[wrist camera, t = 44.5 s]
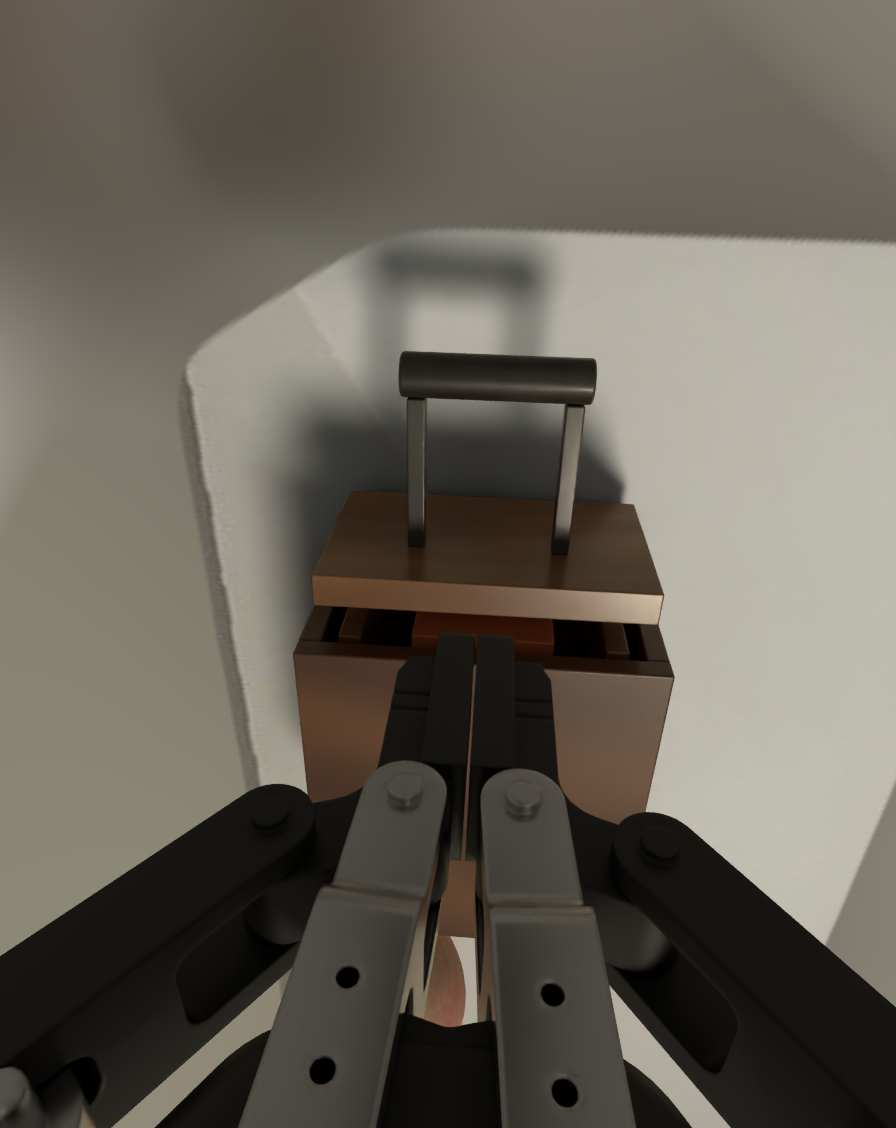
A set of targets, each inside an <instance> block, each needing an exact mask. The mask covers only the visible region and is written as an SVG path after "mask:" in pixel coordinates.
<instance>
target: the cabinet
mask: <svg viewBox="0 0 896 1128" xmlns="http://www.w3.org/2000/svg"><path fill="white" fill-rule="evenodd" d="M347 609H348V607H338V606H320V605H314V606H313V608H312V610H311V613H310V615H309V618H308V620H307V622H306V625H305V627H304V629H303V632H302V634H301V636H300V639H299V641H298V643H297V646H296V648H295V650H294V653H293V657H294V667H295V677H296V686H297V696H298V705H299V715H300V725H301V734H302V744H303V754H304V763H305V773H306V782H307V792H308V796H309V797H310V799H311V801H312V803H316V802H321V801H326V800H331V799H336V798H340V797H343V796H346V795H349V794H351V793H353V792H355V791H357V790H359V789H360V788H361V787H363V786H364V784H365V782H366V780H367V779H368V777H369V776H370V775H371V774H372V773H373V772H374V771H375V770H377V767H378V763H379V759H380V754H381V749H382V744H383V739H384V734H385V730H386V725H387V720H388V715H389V710H390V707H391V701H392V696H393V694H394V686H395V682H396V677H397V672H398V670H399V669H400V668H401V667H402V666H403V665H404V663H405V662H406V661H407V660H408V659H409V658H410V657H411V655H414V656H430V657H436V651H437V649H434V648H418V647H401V646H385V645H369V644H352V643H339V642H338V635H339V632H340V629H341V626H342V623H343V621H344V618H345V615H346V612H347ZM623 627H624V631H625V635H626V640H627V644H628V648H629V653H630V655H629V660H614V659H597V658H581V657H565V656H548V655H532V654H516V653H514V662H528V663H540V665H541V666H542V668H543V669H544V671H545V672H546V674H547V675H548V677H549V678H550V680H551V684H552V697H553V711H554V724H555V738H556V751H557V765H558V777H559V783H560V785H561V788H562V790H563V791H564V793H565V795H566V796H567V797H568V798H569V800H570V801H571V802H572V803H574V804H575V805H576V806H577V807H579V808H580V809H581V810H583V811H585V812H586V813H588V814H590V815H593V816H595V817H598V818H601V819H603V820H606V821H609V822H612V823H615V824H618V825H619V824H620V822H621V821H622V820H624V819H625V818H627V817H629V816H631V815H633V814H637V813H643V812H645V811H646V806H647V802H648V797H649V792H650V788H651V783H652V779H653V774H654V769H655V765H656V760H657V756H658V751H659V747H660V742H661V737H662V733H663V728H664V724H665V719H666V714H667V710H668V705H669V701H670V696H671V692H672V687H673V682H674V678H675V677H674V674H673V671H672V667H671V664H670V661H669V658H668V655H667V651H666V648H665V645H664V641H663V638H662V635H661V632H660V628H659V625H645V624H628V623H623ZM476 662H477V651H474V666H473V686H472V705H471V722H470V737H469V752H468V766H467V781H466V796H465V811H464V826H463V841H462V856H461V861H457V860H450V861H449V873H448V883H447V888H446V890H445V893H444V896H443V907H442V913H441V918H440V924H439V930H438V935H443V936H456V937H468V938H475V926H474V895H475V875H476V862H473V861H465V851H466V832H467V813H468V793H469V774H470V757H471V741H472V725H473V709H474V694H475V678H476Z"/></svg>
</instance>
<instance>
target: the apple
mask: <svg viewBox="0 0 896 1128" xmlns="http://www.w3.org/2000/svg"><path fill="white" fill-rule="evenodd" d="M465 998H466V989H465V981H464V974H463V969H462V965H461V961H460V958H459V955H458V953H457V950H456V948H455V946H454V943H453V941H452V939H451V938H450V936H443V935H438V936H437V942H436V948H435V953H434V959H433V965H432V971H431V977H430V983H429V988H428V994H427V1000H426V1007H425V1014H424V1019H425V1020H427V1021H430V1022H433V1023H435V1024H438V1025H441V1026H445V1027H456V1026H461V1025H462V1021H463V1016H464V1010H465Z"/></svg>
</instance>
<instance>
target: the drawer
mask: <svg viewBox="0 0 896 1128" xmlns="http://www.w3.org/2000/svg"><path fill="white" fill-rule="evenodd" d="M596 380H597V364H596V360H595V359H593V358H569V357H544V356H518V355H493V354H467V353H442V352H416V351H403V352H402V353H401V356H400V361H399V392H400V395H401V396H402V397H408V398H407V493H393V492H373V491H353V490H351V491H350V493H349V495H348V497H347V499H346V502H345V504H344V506H343V508H342V510H341V512H340V515H339V517H338V519H337V521H336V523H335V525H334V528H333V530H332V532H331V534H330V536H329V538H328V541H327V543H326V545H325V547H324V549H323V551H322V554H321V556H320V558H319V560H318V562H317V564H316V567H315V569H314V571H313V573H312V575H311V577H312V589H313V601H314V605H320V606H338V607H348V609H347V612H346V615H345V618H344V621H343V623H342V626H341V629H340V632H339V635H338V642H339V643H352V644H369V645H385V646H401V647H412V644H411V635H412V630H413V625H414V621H415V616H416V611H423V612H440V613H457V614H474V615H491V616H508V617H525V618H543V619H552V622H553V633H554V652H553V656H565V657H581V658H597V659H614V660H629V655H630V653H629V648H628V644H627V640H626V635H625V631H624V627H623V623H628V624H645V625H658V624H659V619H660V614H661V609H662V604H663V599H664V593H663V590H662V587H661V584H660V581H659V578H658V575H657V572H656V569H655V566H654V563H653V560H652V557H651V554H650V551H649V548H648V545H647V542H646V539H645V536H644V533H643V530H642V527H641V525H640V522H639V519H638V516H637V513H636V510H635V507H634V505H633V504H614V503H594V502H574V501H575V492H576V483H577V475H578V466H579V458H580V449H581V440H582V432H583V423H584V414H585V406H584V405H590V404H592V402H593V400H594V396H595V390H596ZM427 398H436V399H460V400H483V401H507V402H530V403H554V404H565V407H564V417H563V427H562V437H561V447H560V456H559V466H558V476H557V486H556V496H555V501H554V500H534V499H514V498H494V497H474V496H453V495H433V494H426V493H427Z"/></svg>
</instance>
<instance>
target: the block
mask: <svg viewBox="0 0 896 1128" xmlns="http://www.w3.org/2000/svg"><path fill="white" fill-rule="evenodd" d="M439 632H450V633H467V634H475V647H474V651H477V646H478V634H485V635H502V636H514V653H516V654H532V655H548V656H553V652H554V633H553V622H552V619H543V618H525V617H508V616H491V615H474V614H457V613H440V612H423V611H416V616H415V621H414V625H413V630H412V635H411V644H412V647H418V648H434V649H437V644H438V637H439Z"/></svg>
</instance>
